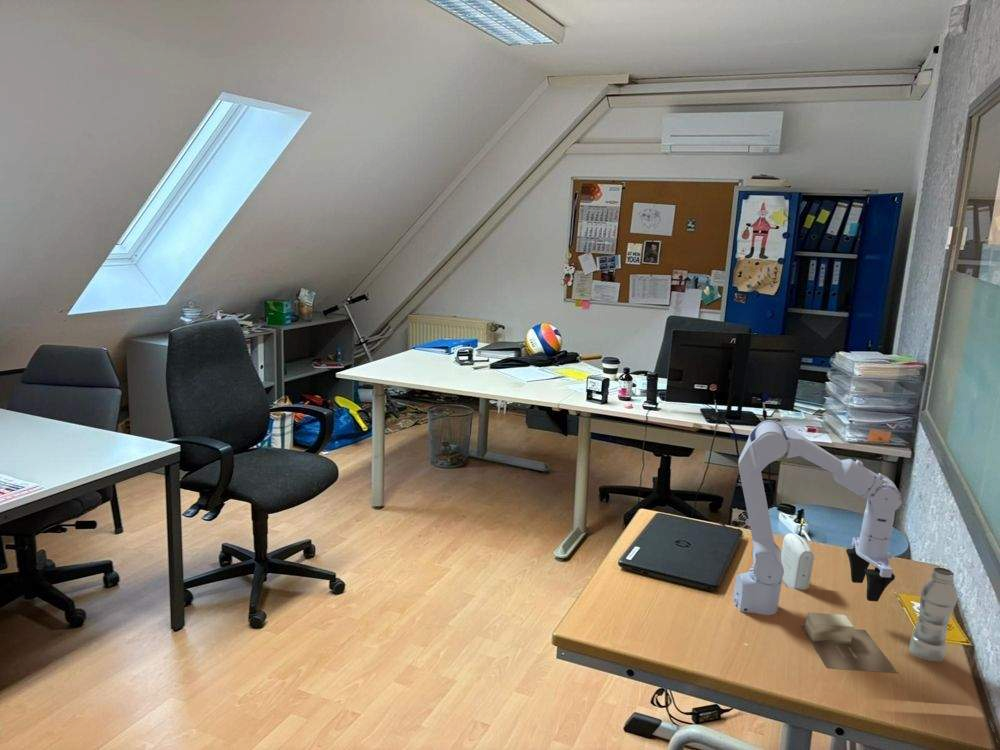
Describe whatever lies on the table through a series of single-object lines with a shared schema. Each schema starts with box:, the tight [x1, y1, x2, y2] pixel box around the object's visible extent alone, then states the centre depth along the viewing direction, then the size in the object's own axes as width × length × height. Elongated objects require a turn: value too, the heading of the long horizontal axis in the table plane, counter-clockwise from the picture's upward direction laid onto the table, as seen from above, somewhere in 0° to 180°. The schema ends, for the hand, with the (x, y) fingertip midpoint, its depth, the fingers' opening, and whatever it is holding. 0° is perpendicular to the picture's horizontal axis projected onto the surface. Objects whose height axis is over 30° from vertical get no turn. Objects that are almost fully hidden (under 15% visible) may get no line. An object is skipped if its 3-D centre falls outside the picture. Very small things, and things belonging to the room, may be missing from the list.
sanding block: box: [804, 611, 855, 644], centre depth 158 cm, size 8×4×4 cm, turn 88°
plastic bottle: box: [909, 566, 958, 663], centre depth 153 cm, size 6×7×20 cm
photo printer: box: [781, 532, 815, 591], centre depth 182 cm, size 10×4×12 cm, turn 3°
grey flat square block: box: [800, 625, 899, 674], centre depth 155 cm, size 14×15×2 cm
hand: (864, 591), depth 162 cm, fingers open, 7 cm apart
